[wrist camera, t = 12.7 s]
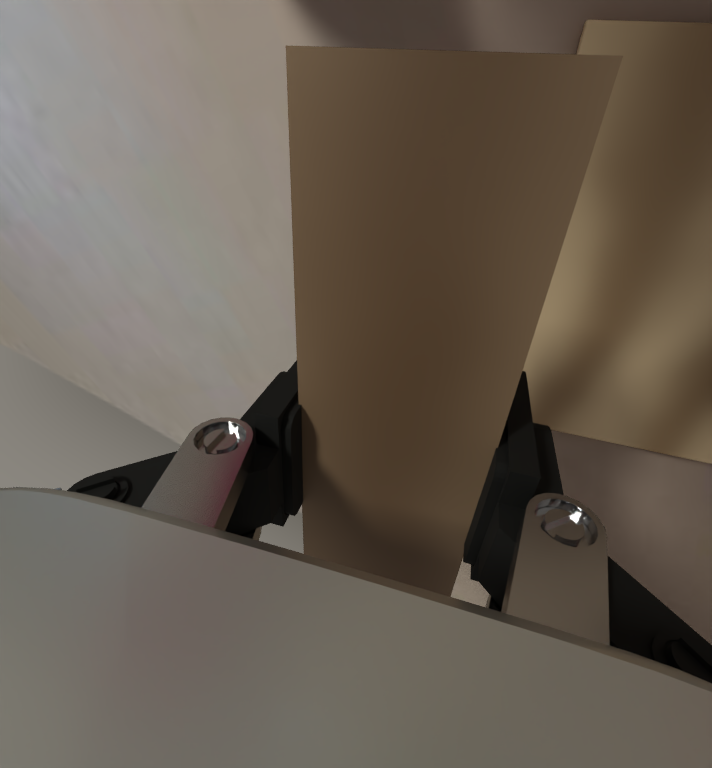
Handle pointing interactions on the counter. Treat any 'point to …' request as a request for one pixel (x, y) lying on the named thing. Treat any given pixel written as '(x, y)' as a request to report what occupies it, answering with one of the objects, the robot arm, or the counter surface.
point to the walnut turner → (422, 279)
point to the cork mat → (637, 256)
